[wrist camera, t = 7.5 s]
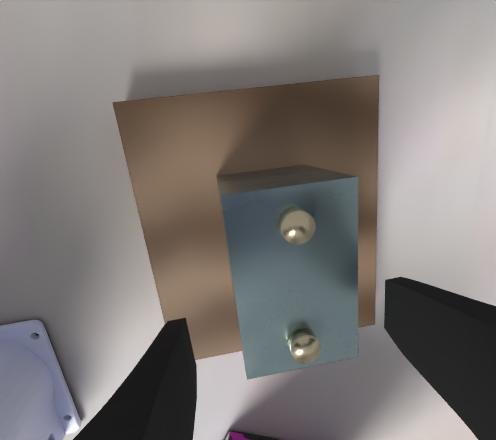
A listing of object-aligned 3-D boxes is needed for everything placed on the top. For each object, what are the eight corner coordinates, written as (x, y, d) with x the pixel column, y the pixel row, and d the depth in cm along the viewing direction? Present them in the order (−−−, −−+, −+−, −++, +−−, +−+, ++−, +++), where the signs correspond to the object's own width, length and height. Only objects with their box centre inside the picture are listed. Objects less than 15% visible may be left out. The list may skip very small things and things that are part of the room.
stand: (359, 308, 21) (374, 324, 19) (177, 342, 20) (174, 364, 18) (359, 82, 17) (379, 74, 15) (124, 107, 15) (112, 102, 14)
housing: (303, 164, 16) (367, 178, 9) (310, 288, 18) (365, 366, 12) (216, 175, 15) (221, 198, 9) (234, 301, 17) (248, 391, 11)
